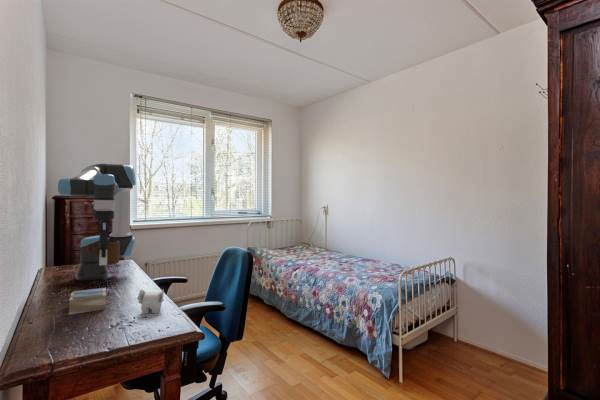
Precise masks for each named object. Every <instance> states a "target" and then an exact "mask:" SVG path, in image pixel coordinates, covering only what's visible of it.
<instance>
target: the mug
mask: <svg viewBox="0 0 600 400" xmlns="http://www.w3.org/2000/svg"><path fill="white" fill-rule="evenodd" d="M92 246H93V247H96V248H100V242H99V244H96V243H91V244H89V245H88V246H87V248H86V250H87V252H88V253H89V254H91V255H96V256H98V257H99V258H100V250H99V252H98V251H92V250H91V247H92ZM107 246H108V249H107V265H106V266H108V265H115V264H118V263H119V262H120V257H119V250H120V245H119V241H108V242H107Z"/></svg>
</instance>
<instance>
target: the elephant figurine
mask: <svg viewBox="0 0 600 400" xmlns="http://www.w3.org/2000/svg"><path fill="white" fill-rule="evenodd" d="M164 292H165V290H164V288H163V289H162V291H145V290H143V289H140V290H139V293H138V296H137V298H136V299H137V301H138V303H139V304H140V306H141V307H140V310H141V314H142V315H146V314H149V313H150V311H151V314H157V313H159V311H161V308H162V303H164V301H165V300H164Z"/></svg>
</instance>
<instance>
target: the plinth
mask: <svg viewBox="0 0 600 400" xmlns="http://www.w3.org/2000/svg"><path fill="white" fill-rule="evenodd" d="M68 304H69V305H68V315H75V314H82V313H88V312H95V311H101V310H106V309H107V308H106V307H107V306H106V305H107V288H106V287H99V288H91V289H83V290H75V291H72V292H71V294H70V296H69V299H68Z"/></svg>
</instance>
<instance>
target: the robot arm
mask: <svg viewBox="0 0 600 400" xmlns="http://www.w3.org/2000/svg"><path fill="white" fill-rule="evenodd" d="M136 180H137V179H136V172H135V169H134V167H133V165H131V164H130V165H129V164H117V163H96V164H92V165H89V166H86V167H85V168H83V169H82V170H81V172H80V173H79V174H77V175H75V176H74V177H72V178H69V177H67V178H60V179H59V180H58V183H57V191H58V194H59V195H61V196H67V197H93V201H92V202H91V205H93V213H92V215H93V216H92V218H93V220H95V221H96V220H100V222H99V223H97V227H98V234H99V235H93V236H87V237H84V238H82V239H81V240H80V247H79V249H80V251H79V252H80V253H79V255H80V257H79V258H80V259H79V267H78V269H77V271H76V274H75V280H77V281H93V280H94V281H96V280H102V279H104V278H107V277H108V276H109V271H108V267H107V266H108V265H107V249H108V246H107V242H108V241H119V245H120V250H119V258H122V259H123V258H129V257H131V256H132V255H133V253H134V249H135V244H136V237H135V236H133V233H132V232H131V229H130V221H131V220H130V218H131V215H130V214H131V212H130V211H131V208H130V207H131V206H130V201H131V199H130V197H131V191H132V190H133V189H134V186H136V184H137V181H136ZM108 220H112V232H111V233H110V234H109V230H110V229H109V228H110V223H108ZM108 235H109V236H108ZM99 242H100V248H96V247H93V246H92V247H91V250H92V251H98V252H99V250H100V258H99V257H98V256H96V255H91V254H89V253H88V252H87V250H86V248H87V246H88V245H89V244H91V243H96V244H99Z"/></svg>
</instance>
